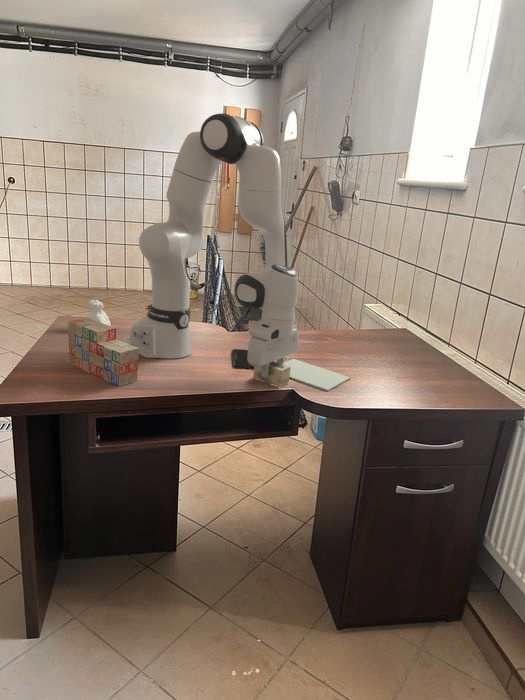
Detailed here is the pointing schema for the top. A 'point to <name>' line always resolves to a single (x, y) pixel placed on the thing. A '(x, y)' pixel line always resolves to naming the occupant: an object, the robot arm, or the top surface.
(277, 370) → the maple block
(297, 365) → the rubber mat
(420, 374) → the top surface
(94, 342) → the stack of blocks
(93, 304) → the bust
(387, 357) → the top surface
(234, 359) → the phone
